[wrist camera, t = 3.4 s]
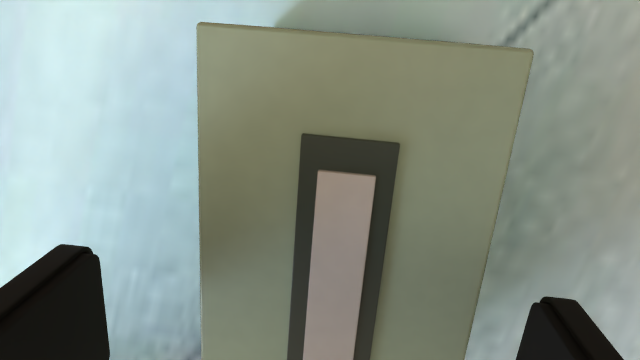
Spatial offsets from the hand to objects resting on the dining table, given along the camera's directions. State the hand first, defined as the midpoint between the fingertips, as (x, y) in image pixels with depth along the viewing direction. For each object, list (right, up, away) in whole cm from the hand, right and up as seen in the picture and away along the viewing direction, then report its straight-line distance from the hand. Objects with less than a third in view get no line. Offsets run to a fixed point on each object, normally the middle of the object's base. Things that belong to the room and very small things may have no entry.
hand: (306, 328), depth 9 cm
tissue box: (+1, +2, +8) cm, 8 cm away
